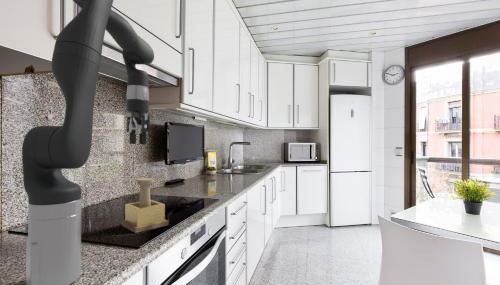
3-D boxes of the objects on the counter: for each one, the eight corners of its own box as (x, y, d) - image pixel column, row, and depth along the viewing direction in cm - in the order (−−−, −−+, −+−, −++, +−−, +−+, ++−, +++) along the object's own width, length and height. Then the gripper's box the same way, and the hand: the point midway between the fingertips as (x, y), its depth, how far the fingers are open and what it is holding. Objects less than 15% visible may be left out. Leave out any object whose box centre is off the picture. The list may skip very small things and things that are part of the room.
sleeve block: (135, 232, 88) (135, 210, 88) (121, 225, 96) (121, 204, 96) (168, 224, 97) (168, 204, 97) (152, 218, 105) (153, 199, 105)
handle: (144, 224, 93) (144, 180, 93) (133, 221, 96) (133, 179, 96) (156, 220, 97) (156, 179, 97) (145, 217, 100) (145, 177, 100)
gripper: (119, 100, 99) (119, 144, 99) (135, 95, 90) (135, 144, 89) (139, 102, 105) (139, 144, 105) (157, 98, 95) (156, 144, 95)
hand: (137, 144), depth 97 cm, fingers open, 8 cm apart
